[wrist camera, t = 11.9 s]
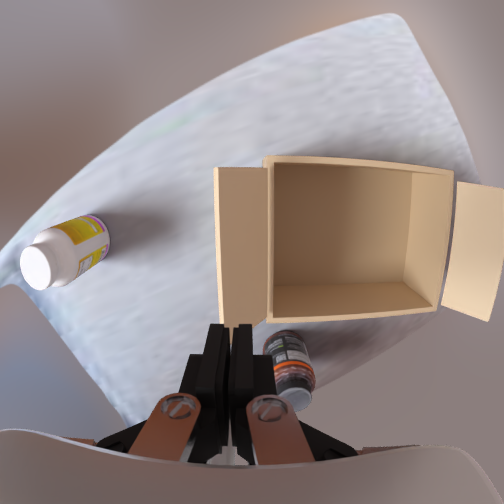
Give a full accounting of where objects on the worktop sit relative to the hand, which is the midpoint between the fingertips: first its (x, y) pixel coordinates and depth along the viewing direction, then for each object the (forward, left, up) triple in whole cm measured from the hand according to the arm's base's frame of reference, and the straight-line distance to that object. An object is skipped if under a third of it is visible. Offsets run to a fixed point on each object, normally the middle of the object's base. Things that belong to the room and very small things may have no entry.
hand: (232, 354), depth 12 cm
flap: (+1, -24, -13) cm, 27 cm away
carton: (+1, -12, -25) cm, 28 cm away
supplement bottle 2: (-16, -5, -25) cm, 31 cm away
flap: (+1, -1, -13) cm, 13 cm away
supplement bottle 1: (0, +21, -25) cm, 33 cm away
